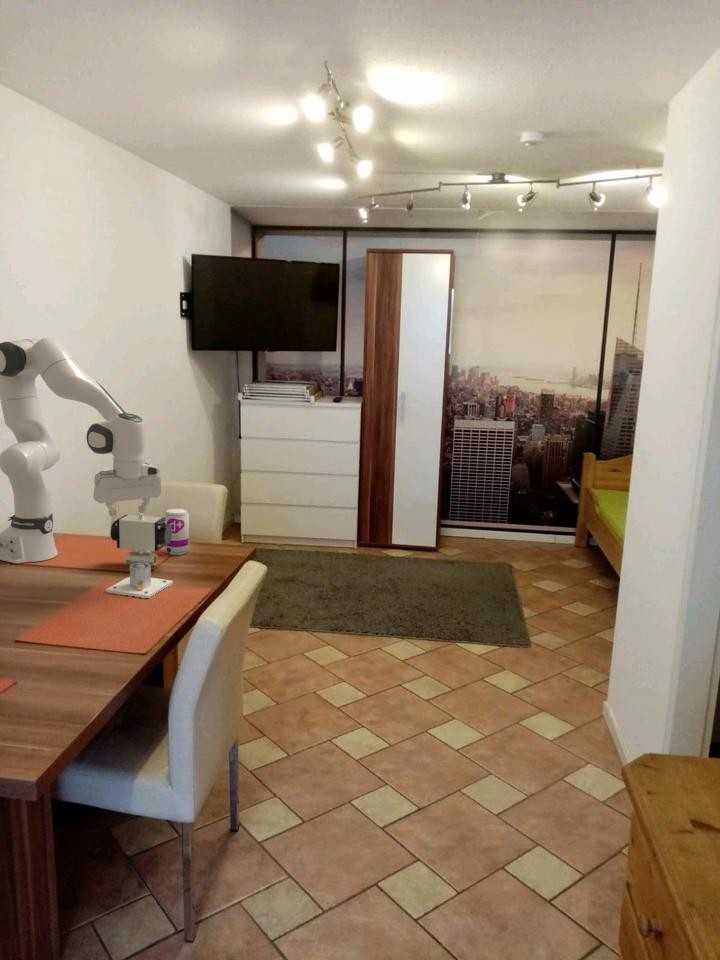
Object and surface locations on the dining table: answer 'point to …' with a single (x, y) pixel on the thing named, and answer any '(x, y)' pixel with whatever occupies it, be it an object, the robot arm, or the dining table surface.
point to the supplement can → (178, 531)
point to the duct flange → (125, 589)
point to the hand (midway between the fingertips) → (127, 514)
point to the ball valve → (141, 536)
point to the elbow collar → (140, 576)
